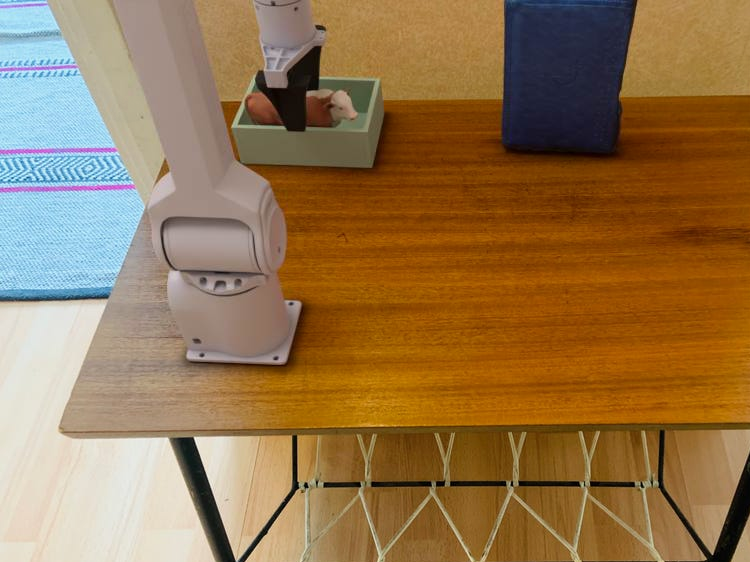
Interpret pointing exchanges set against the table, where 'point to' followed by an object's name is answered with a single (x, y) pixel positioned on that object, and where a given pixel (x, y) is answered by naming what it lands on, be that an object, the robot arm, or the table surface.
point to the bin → (317, 132)
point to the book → (564, 73)
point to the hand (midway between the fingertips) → (303, 110)
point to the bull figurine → (320, 109)
